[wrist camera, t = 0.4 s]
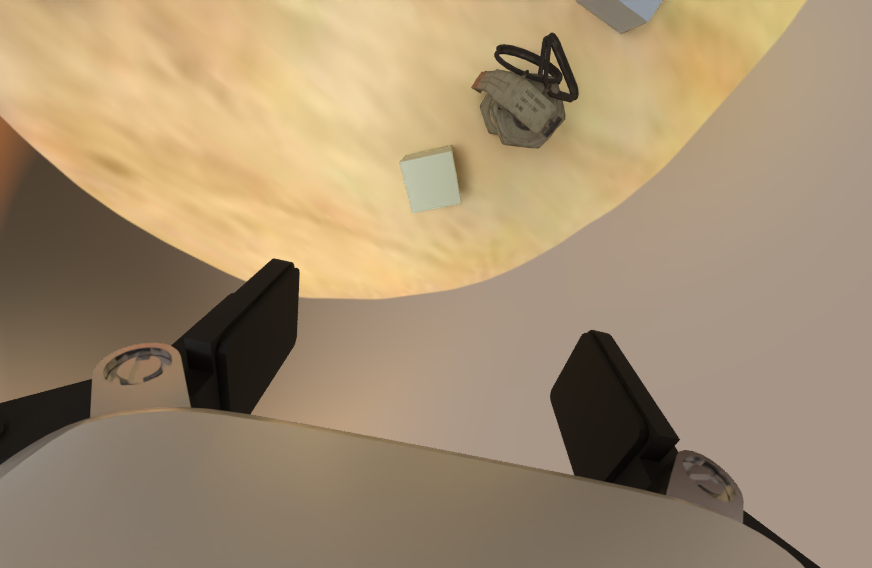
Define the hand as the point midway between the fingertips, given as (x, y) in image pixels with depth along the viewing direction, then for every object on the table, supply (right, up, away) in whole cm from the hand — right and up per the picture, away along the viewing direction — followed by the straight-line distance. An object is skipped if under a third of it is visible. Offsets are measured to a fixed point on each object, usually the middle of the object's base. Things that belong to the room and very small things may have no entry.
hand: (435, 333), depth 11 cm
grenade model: (+7, +20, +23) cm, 31 cm away
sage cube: (0, +14, +26) cm, 30 cm away
